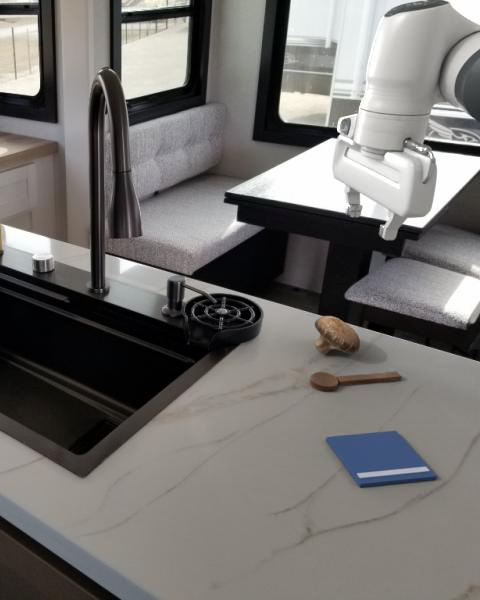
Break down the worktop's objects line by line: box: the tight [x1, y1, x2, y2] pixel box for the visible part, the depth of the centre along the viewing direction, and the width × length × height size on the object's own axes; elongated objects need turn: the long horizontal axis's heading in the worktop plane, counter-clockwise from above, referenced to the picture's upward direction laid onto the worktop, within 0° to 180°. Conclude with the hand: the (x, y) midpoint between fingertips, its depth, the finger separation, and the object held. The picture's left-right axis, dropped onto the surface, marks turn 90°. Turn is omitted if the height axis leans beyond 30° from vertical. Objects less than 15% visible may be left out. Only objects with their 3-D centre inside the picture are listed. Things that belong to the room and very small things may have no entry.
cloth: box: [325, 430, 438, 488], centre depth 82 cm, size 10×9×1 cm
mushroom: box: [314, 315, 361, 356], centre depth 105 cm, size 8×8×6 cm
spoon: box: [309, 371, 402, 393], centre depth 98 cm, size 14×4×1 cm, turn 97°
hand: (368, 226), depth 93 cm, fingers open, 8 cm apart
